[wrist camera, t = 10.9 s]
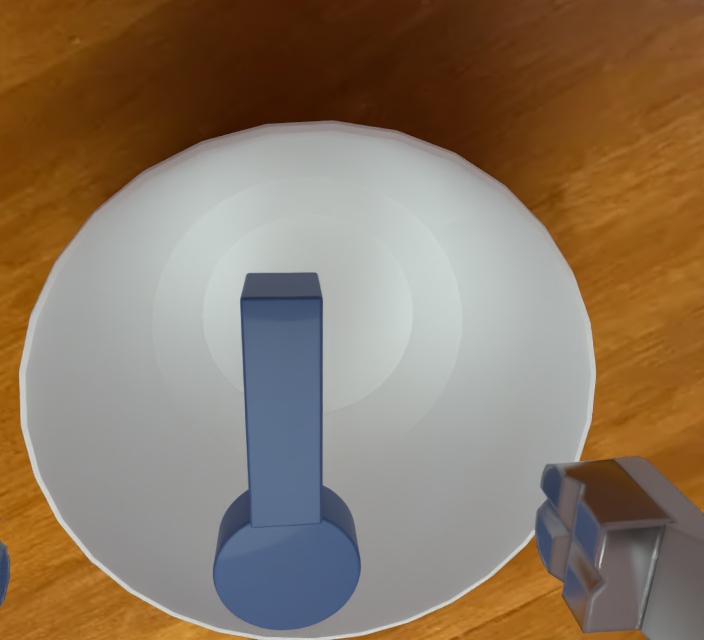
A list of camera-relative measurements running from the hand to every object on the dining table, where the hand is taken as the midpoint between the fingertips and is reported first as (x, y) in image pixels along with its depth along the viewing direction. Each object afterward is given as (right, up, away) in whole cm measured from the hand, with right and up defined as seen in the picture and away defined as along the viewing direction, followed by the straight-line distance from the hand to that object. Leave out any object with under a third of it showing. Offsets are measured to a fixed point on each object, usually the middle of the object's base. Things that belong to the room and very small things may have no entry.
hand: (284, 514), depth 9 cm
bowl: (-1, +3, +17) cm, 17 cm away
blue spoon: (-1, -1, +8) cm, 8 cm away
